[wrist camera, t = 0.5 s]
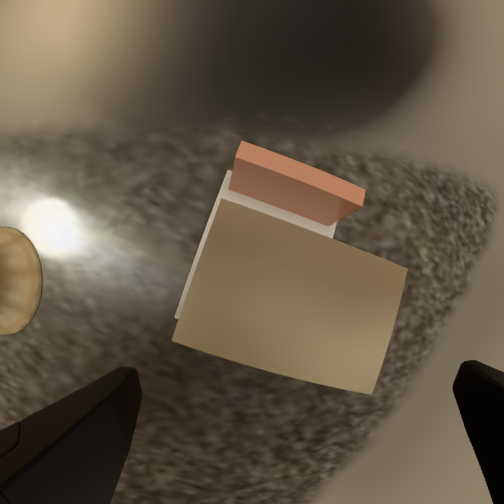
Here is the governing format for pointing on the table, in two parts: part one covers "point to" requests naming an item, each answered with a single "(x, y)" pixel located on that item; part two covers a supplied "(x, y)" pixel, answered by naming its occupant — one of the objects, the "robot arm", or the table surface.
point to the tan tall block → (290, 301)
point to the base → (283, 194)
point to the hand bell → (18, 281)
